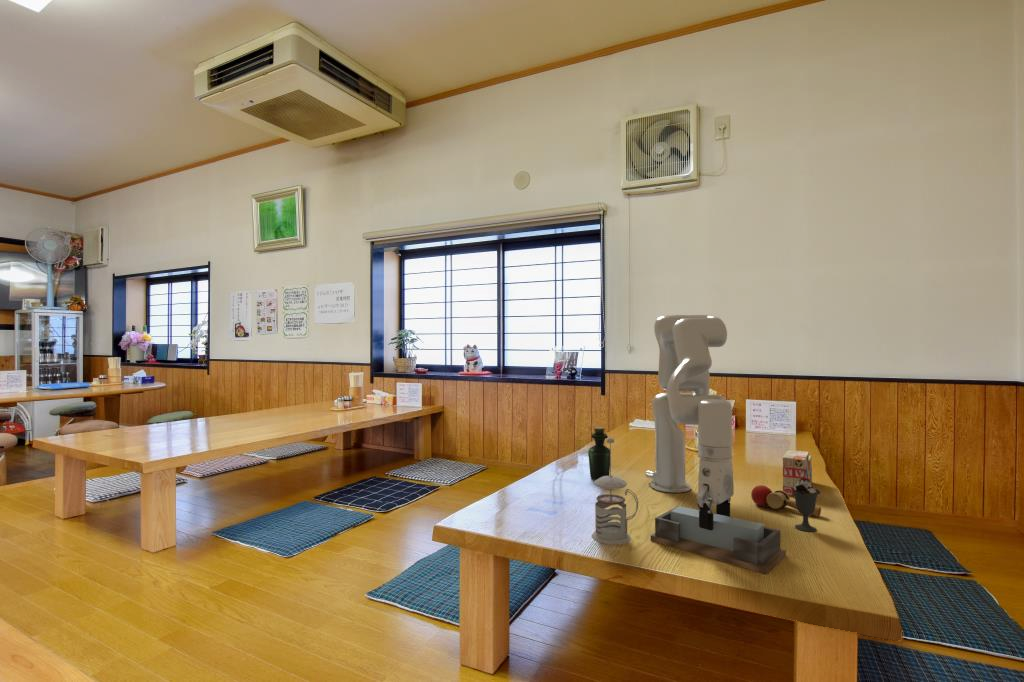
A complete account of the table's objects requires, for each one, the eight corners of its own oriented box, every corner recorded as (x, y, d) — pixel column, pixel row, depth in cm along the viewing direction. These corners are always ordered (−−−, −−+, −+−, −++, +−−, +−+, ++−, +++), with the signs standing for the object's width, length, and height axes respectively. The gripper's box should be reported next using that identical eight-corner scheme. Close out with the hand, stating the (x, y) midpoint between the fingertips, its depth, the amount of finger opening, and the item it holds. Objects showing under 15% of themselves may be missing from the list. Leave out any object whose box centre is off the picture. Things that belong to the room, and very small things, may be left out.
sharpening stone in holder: (650, 540, 127) (650, 517, 127) (675, 526, 137) (675, 505, 136) (766, 574, 108) (766, 547, 108) (785, 555, 118) (785, 531, 118)
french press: (595, 527, 136) (595, 433, 136) (640, 533, 132) (640, 436, 132) (587, 541, 127) (586, 440, 127) (635, 548, 122) (634, 443, 122)
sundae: (810, 523, 138) (809, 467, 138) (826, 533, 131) (825, 474, 131) (785, 524, 137) (785, 467, 137) (800, 533, 131) (800, 474, 131)
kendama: (822, 517, 146) (755, 496, 158) (824, 497, 145) (757, 477, 157) (815, 529, 141) (746, 506, 153) (817, 508, 139) (748, 487, 151)
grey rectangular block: (670, 535, 127) (670, 511, 127) (678, 529, 131) (678, 506, 131) (757, 557, 114) (757, 530, 114) (763, 550, 118) (763, 523, 118)
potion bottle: (610, 475, 187) (610, 425, 187) (612, 481, 179) (612, 430, 179) (587, 474, 188) (587, 425, 188) (588, 481, 180) (588, 429, 180)
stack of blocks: (791, 479, 180) (791, 444, 180) (812, 482, 177) (812, 446, 176) (782, 495, 163) (782, 456, 163) (805, 498, 159) (805, 459, 159)
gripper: (715, 461, 114) (715, 538, 114) (744, 447, 126) (744, 517, 126) (683, 455, 119) (683, 529, 119) (714, 443, 131) (714, 510, 132)
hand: (714, 522), depth 123 cm, fingers open, 9 cm apart
